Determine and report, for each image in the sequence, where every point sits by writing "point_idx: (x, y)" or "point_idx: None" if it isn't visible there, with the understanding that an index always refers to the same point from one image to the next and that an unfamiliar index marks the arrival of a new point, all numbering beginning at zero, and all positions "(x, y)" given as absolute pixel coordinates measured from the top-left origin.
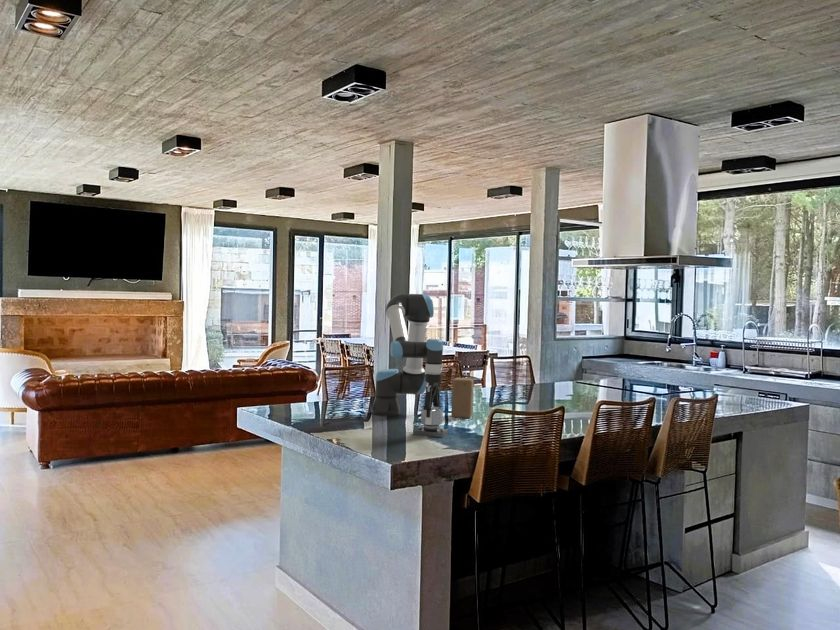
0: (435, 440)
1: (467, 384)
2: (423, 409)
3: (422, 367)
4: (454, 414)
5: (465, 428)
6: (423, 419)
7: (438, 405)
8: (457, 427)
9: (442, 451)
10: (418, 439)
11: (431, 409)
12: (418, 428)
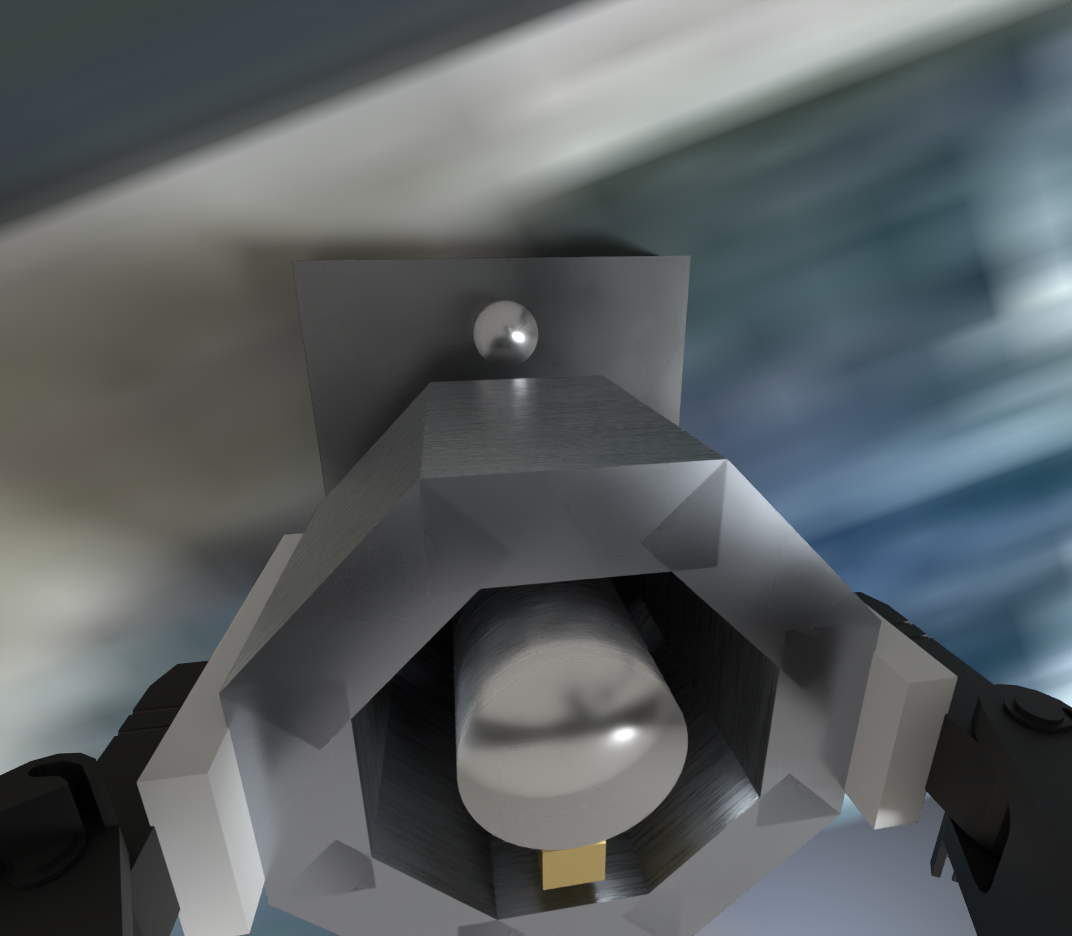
0: (135, 681)
1: None
2: (534, 515)
3: None
4: None
5: (1017, 674)
6: (338, 499)
7: (981, 863)
8: (1055, 591)
9: None
10: (9, 476)
11: (675, 708)
12: (504, 293)
